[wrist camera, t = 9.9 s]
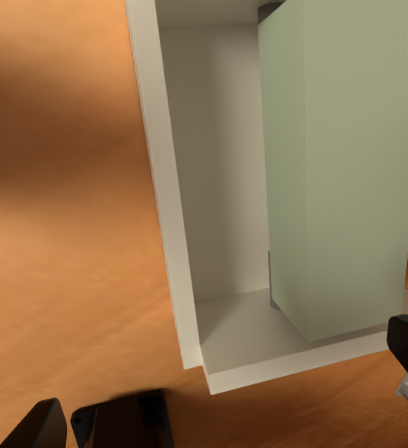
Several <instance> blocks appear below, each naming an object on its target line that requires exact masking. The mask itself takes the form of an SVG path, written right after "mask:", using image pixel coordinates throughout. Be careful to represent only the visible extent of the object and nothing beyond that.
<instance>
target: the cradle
mask: <svg viewBox="0 0 408 448" xmlns="http://www.w3.org/2000/svg"><path fill="white" fill-rule="evenodd" d="M285 1H287V0H124V2H125V11H126V17H127V23H128V30H129V36H130V42H131V49H132V55H133V61H134V68H135V74H136V80H137V87H138V93H139V99H140V106H141V112H142V118H143V125H144V131H145V138H146V144H147V150H148V157H149V163H150V169H151V176H152V182H153V188H154V195H155V201H156V207H157V214H158V220H159V226H160V233H161V239H162V245H163V252H164V258H165V264H166V271H167V277H168V283H169V290H170V296H171V302H172V309H173V315H174V321H175V326H176V331H177V336H178V341H179V346H180V351H181V356H182V361H183V366H184V369H188V368H193V367H197V366H201V365H203V369H204V372H205V376H206V380H207V383H208V387H209V390H210V394H211V395H213V394H217V393H221V392H225V391H229V390H232V389H236V388H240V387H244V386H248V385H252V384H256V383H259V382H263V381H267V380H271V379H275V378H279V377H283V376H286V375H290V374H294V373H298V372H302V371H306V370H310V369H313V368H317V367H321V366H325V365H329V364H333V363H336V362H340V361H344V360H348V359H352V358H356V357H360V356H363V355H367V354H371V353H375V352H379V351H383V350H387V349H389V347H388V345H387V341H386V339H387V329H388V322H387V323H383V324H379V325H375V326H371V327H367V328H363V329H359V330H355V331H351V332H347V333H343V334H340V335H336V336H332V337H328V338H324V339H320V340H316V341H312V342H307V341H306V340H305V338H304V337H303V336H302V335H301V333H300V332H299V331H298V330H297V329H296V327H295V326H294V325H293V324H292V322H291V321H290V320H289V319H288V317H287V316H286V315H285V314H284V312H283V311H282V310H281V309H280V308H279V306H278V305H277V304H276V303H275V301H274V300H273V299H272V284H271V265H270V246H269V228H268V209H267V190H266V171H265V152H264V133H263V115H262V96H261V77H260V58H259V39H258V25H259V24H260V23H262V22H263V21H264V20H265V19H266V18H267V17H268V16H270V15H271V14H272V13H273V12H274V11H275V10H276V9H277V8H279V7H280V6H281V5H282V4H283V3H284V2H285ZM402 314H407V315H408V289H406V288H404V297H403V307H402Z"/></svg>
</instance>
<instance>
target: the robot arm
mask: <svg viewBox="0 0 408 448" xmlns="http://www.w3.org/2000/svg"><path fill="white" fill-rule="evenodd" d="M386 341H387V345H388V347H389V349H390V351H391V352H392V353H393V354H394V356H395V357H396V358H397V360H398V361H399V362H400V364H401V365H402V366H403V367H404V369H405V370H406V371H407V373H408V315H407V314H400V315H395V316H392V317H390V318H389V320H388V329H387V339H386ZM157 397H160V398H157ZM156 398H157V399H156ZM70 422H71V425H72V429H73V432H74V435H75V438H76V441H77V444H78V447H79V448H174V443H173V438H172V433H171V427H170V422H169V416H168V411H167V406H166V400H165V395H164V392H163V391H161V390H156V391H152V392H148V393H144V394H140V395H136V396H132V397H128V398H124V399H120V400H116V401H112V402H108V403H104V404H100V405H96V406H92V407H88V408H84V409H80V410H76V411H74V412H73V413H72V416H71V420H70ZM66 438H67V423H66V420H65V417H64V414H63V410H62V407H61V404H60V401H59V400H58V398H50V399H46V400H42V401H39V402H38V403H37V404H36V405H35V406H34V407H33V408H32V409H31V410H30V411H29V413H28V414H27V415H26V416H25V417H24V418H23V419H22V420H21V422H20V423H19V424H18V425H17V426H16V427H15V428H14V430H13V431H12V432H11V433H10V434H9V435H8V436H7V438H6V439H5V440H4V441H3V442H2V443H1V444H0V448H66Z"/></svg>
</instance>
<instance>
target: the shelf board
mask: <svg viewBox="0 0 408 448" xmlns="http://www.w3.org/2000/svg"><path fill="white" fill-rule="evenodd" d="M258 39H259V58H260V77H261V96H262V115H263V133H264V152H265V171H266V190H267V209H268V228H269V246H270V265H271V284H272V299H273V300H274V301H275V303H276V304H277V305H278V306H279V308H280V309H281V310H282V311H283V312H284V314H285V315H286V316H287V317H288V319H289V320H290V321H291V322H292V324H293V325H294V326H295V327H296V329H297V330H298V331H299V332H300V333H301V335H302V336H303V337H304V338H305V340H306V341H307V342H312V341H316V340H320V339H324V338H328V337H332V336H336V335H340V334H343V333H347V332H351V331H355V330H359V329H363V328H367V327H371V326H375V325H379V324H383V323H387V322H388V320H389V318H390V317H392V316H395V315H400V314H402V307H403V297H404V287H405V277H406V267H407V257H408V0H287V1H285V2H284V3H283V4H282V5H281V6H280V7H279V8H277V9H276V10H275V11H274V12H273V13H272V14H271V15H270V16H268V17H267V18H266V19H265V20H264V21H263V22H262V23H260V24H259V25H258Z"/></svg>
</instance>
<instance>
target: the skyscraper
mask: <svg viewBox="0 0 408 448" xmlns="http://www.w3.org/2000/svg"><path fill="white" fill-rule="evenodd" d="M395 395H397V396H404V397H405V398H406V399H407V400H408V373H406V375H405V377H404V378H403V380H402V382H401V384H400V386H399V387H398V389H397V391H396V393H395Z"/></svg>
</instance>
